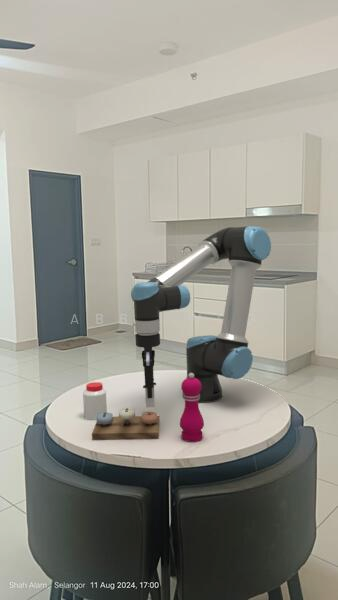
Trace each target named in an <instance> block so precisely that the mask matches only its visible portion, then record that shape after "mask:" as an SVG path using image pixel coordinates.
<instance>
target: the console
mask: <svg viewBox="0 0 338 600" xmlns="http://www.w3.org/2000/svg"><path fill="white" fill-rule="evenodd" d="M91 432H92V433H91V440H92V441H115V440H117V441H118V440H122V441H123V440H124V441H125V440H160V439H159V438H160V415H157V422H155V423H152V425H147V423H143V422H142V421H141V415H135V417H134V418H132V419H129V424H125V420H124V419H120V418H119V416H113V422H112V423H109V424H107V426H103V424H98V423H97V421H96V422H95V425H94V428H93V430H92V431H91Z"/></svg>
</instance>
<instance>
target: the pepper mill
mask: <svg viewBox="0 0 338 600" xmlns="http://www.w3.org/2000/svg"><path fill="white" fill-rule="evenodd" d="M188 377H189V378H187V377H186V378H184V380H183V381H182V382H181V391H182V397H183V396H184V397H183V398H182V399H183V400H184V409H183V412H182V414H181V417H180V420H179V427H180V429H182V431H181V439H182V440H183V441H186V442H193V443H194V442H198V441H201V440H202V439H203V431H202V429H203V428H205V427H204V426H205V423H204V417H203V415H202V413H201V411H200V409H199V407H200V406H199V402H198V401H199V399H200V394H199V392H200V391H201V388H202V386H201V382H200V381H199V380H198V379H196V378H194V374H193V373H189V375H188ZM183 392H184V394H183Z"/></svg>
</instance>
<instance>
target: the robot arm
mask: <svg viewBox="0 0 338 600" xmlns="http://www.w3.org/2000/svg"><path fill="white" fill-rule="evenodd" d="M271 248H272V243H271V238H270V236H269V233H268V232H267V231H266V230H265V229H264V228H263V227H262V226H261V227H260V226H253V225H249V226H235V227H234V226H232V227H225V228H222V229H220V230H218V231H216V232H214V233H213V234H211V235H209V236H207V237H206V238H205V239H203V240H201V241H200V243H199V244H198V247H196V248H195V249H193V250H192V251H190V252H189V253H187V254H186V255H185V256H183V257H182V258H180V259H179V260H177V261H176V262H174V263H173V264H171V265H170V266H169V267H167V268H165V269H164V270H162V272H160V273H158V274H157V275H155V276H154V277H152V278H151V279H150V280H148V281H143V282H137V283H135V284H134V285H133V286H132V289H131V291H130V297H131V300H132V301H133V309H134V310H133V311H134V322H133V323H132V325H133V326H135V327H134V331H135V333H136V334H135V346H136V347H138V348H143V350H142V351H141V359H142V366H143V369H144V370H143V371H144V372H143V373H144V385H143V386H142V388H143V389H145V390H144V392H145V408H146V409H147V408H148V409H149V408H150V409H151V408H155V406H156V402H155V401H156V398H155V386H157V383H156V382H155V378H154V366H155V357H156V353H155V352H156V351H155V349H153V348H156V347H159V345H161V334H160V331H161V330H160V329H161V328H160V327H161V326H160V325H161V324H160V313H161V312H169V311H175V310H177V311H178V310H181V309H185V308H187V307H189V305H190V303H191V293H190V290H189V288H188V287H187V286H185V285H184V283H185V282H187V281H188V280H190V279H191V278H192V277H194V276H195V275H197V274H198V273H199V272H201V271H202V270H204V269H205V268H207V267H208V266H209V265H215V264H217V263H218V262H221V261H222V260H228V263H229V265H230V266H231V270H230V276H229V282H228V287H227V295H226V299H225V307H224V312H223V313H224V314H223V318H222V324H221V329H220V330H221V331H220V333H219V334H217V335H209V334H208V335H198V336H192V337H189V338H188V339H187V341H186V348H185V353H186V378H189V377H188V375H189V373H193V374H194V378H196V379H198V380H199V381H200V382H201V386H202V388H201V391H200V392H199V394H200V399H199V401H198V403H211V402H216V401H219V400H221V399H222V398H223V388H222V386H221V383H220V380H219V376H222V377H224V378H226V379H232V380H237V379H238V380H239V379H241V378H244V377H245V376H246V375H247V374H248V373H249V371H250V369H251V368H252V366H253V358H254V357H253V353H252V350H251V349H250V348H249V347H248V346H249V341H248V339H247V337H246V333H247V332H246V331H247V326H248V321H249V313H250V308H251V301H252V295H253V289H254V282H255V277H256V271H257V270H258V269H259V268H261V267H262V261H265V260H266V259H267V258H268V257H269V256H270V254H271V251H272V249H271ZM182 284H183V285H182ZM183 394H184V392H183V391H182V397H184V396H183Z"/></svg>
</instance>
